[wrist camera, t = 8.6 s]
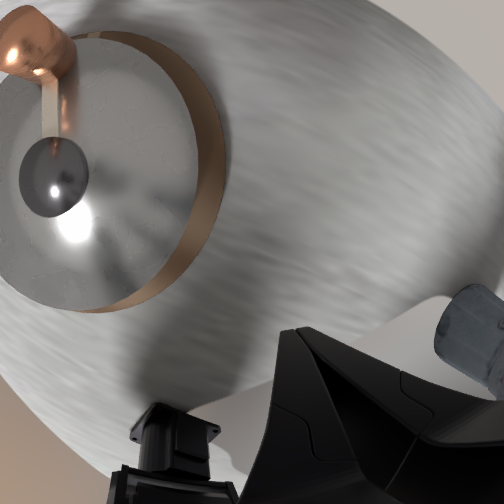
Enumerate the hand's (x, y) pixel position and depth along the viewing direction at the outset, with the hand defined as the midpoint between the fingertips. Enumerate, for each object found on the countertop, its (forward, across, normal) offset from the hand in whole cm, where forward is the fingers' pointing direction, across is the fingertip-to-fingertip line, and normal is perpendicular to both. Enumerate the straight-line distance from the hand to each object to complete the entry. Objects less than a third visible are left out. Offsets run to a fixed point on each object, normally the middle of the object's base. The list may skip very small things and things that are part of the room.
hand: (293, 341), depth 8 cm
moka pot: (+11, -23, +11) cm, 28 cm away
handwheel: (+10, +10, -6) cm, 15 cm away
